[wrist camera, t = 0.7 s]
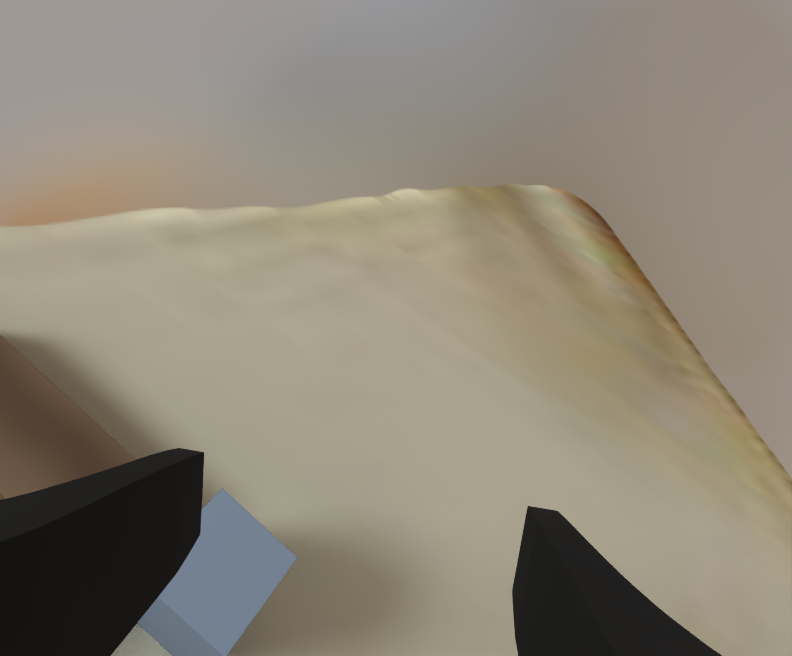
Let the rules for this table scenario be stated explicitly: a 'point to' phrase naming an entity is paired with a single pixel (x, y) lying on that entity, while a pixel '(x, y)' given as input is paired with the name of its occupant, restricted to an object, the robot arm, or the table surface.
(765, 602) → the table surface
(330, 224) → the table surface
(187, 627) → the square peg
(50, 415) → the socket block
